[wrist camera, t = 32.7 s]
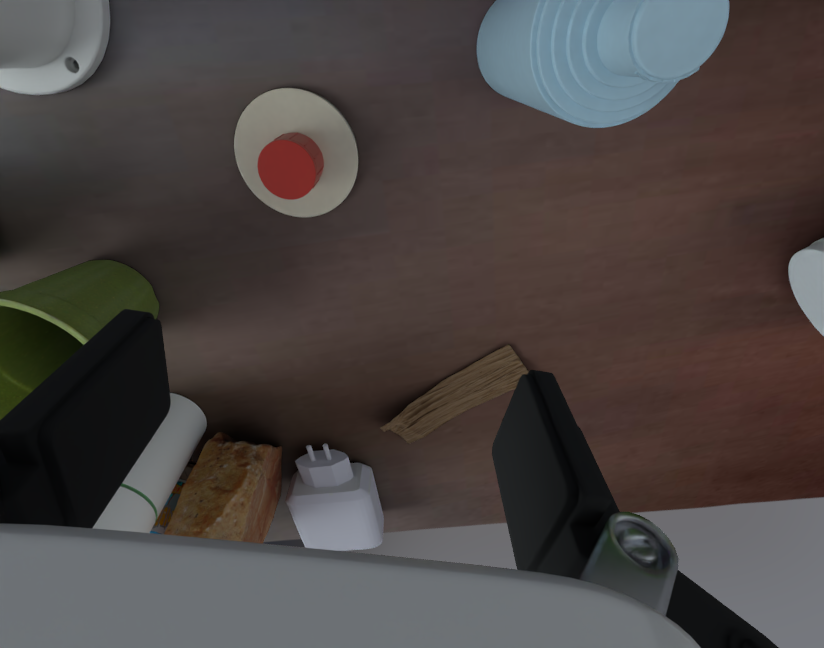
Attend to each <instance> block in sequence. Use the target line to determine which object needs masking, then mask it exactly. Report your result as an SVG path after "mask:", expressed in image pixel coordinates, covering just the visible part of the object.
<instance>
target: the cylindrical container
mask: <svg viewBox="0 0 824 648" xmlns="http://www.w3.org/2000/svg"><path fill="white" fill-rule="evenodd" d="M170 399H171V404H170V409H169V412H168V414H167V416H166V418H165V419H164V421H163V422H162V424H161V425H160V427H159V428H158V430H157V431H156V433H155V434H154V436H153V437H152V439H151V440H150V442H149V443H148V445H147V446H146V448H145V449H144V451H143V452H142V454H141V455H140V457H139V458H138V460H137V461H136V463H135V464H134V466H133V467H132V469H131V470H130V472H129V473H128V475H127V477H126V478H125V480H124V481H123V483H122V484H121V486H120V487H119V489H118V490H117V492H116V493H115V495H114V496H113V498H112V499H111V501H110V502H109V504H108V505H107V507H106V508H105V510H104V511H103V513H102V514H101V516H100V517H99V519H98V520H97V522H96V523H95V525H94V526H93V529H106V530H120V531H131V532H142V533H150V531H151V529H152V527H153V525H154V524H155V522H156V520H157V518H158V516H159V514H160V513H161V511H162V509H163V507H164V505H165V504H166V502H167V500H168V498H169V496H170V494H171V493H172V491H173V489H174V487H175V485H176V483H177V482H178V480H179V478H180V476H181V474H182V472H183V471H184V469H185V467H186V465H187V463H188V462H189V460H190V458H191V456H192V454H193V452H194V451H195V449H196V447H197V445H198V443H199V441H200V440H201V438H202V436H203V434H204V432H205V430H206V427H207V420H206V417H205V415H204V413H203V411H202V410H201V409H200V408H199V407H198V406H197V405H196V404H195V403H194V402H192V401H191V400H189V399H187V398H185V397H183V396H181V395H178V394H174V393H170Z"/></svg>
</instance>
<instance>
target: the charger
mask: <svg viewBox="0 0 824 648" xmlns="http://www.w3.org/2000/svg"><path fill="white" fill-rule="evenodd" d="M322 446H323V449H324V450H321V451H313V450H312V447H311V445H307V446H306V448H307V451H308V454H305V455H303V456H301V457H299V458H298V459H297V460H296V461H295V463H296V465H297V468H298V471H297V472H296V473H295V474H294V475H293V476H292V479H291V483H290V486H289V490H288V493H287V497H286V503H287V506H288V508H289V510H290V513H291V515H292V517H293V520H294V522H295V525H296V527H297V529H298V532H299V534H300V536H301V539H302V541H303V543H304V546H305V548H314V549H324V550H334V551H347V550H360V549H370V548H374V547H377V546H379V545H380V544H381V543H382V541H383V525H384V516H383V512H382V508H381V504H380V500H379V496H378V492H377V488H376V483H375V479H374V475H373V471H372V468H371V467H370V466H367V465H364V464H361V463H350V462H349V458H348V456H347V455H346V454H345V453H343V452H340V451H337V450H334V449H332V450H329V448H328V445H327V444H326V443H325V444H323V445H322Z"/></svg>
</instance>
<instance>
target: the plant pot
mask: <svg viewBox="0 0 824 648" xmlns="http://www.w3.org/2000/svg"><path fill="white" fill-rule="evenodd" d="M124 309H130V310H137V311H143V312H150V313H152V314H153V316H154V319H156V318H157V316H158V312H159V302H158V300H157V299H156V296H155V294H154V291H153V288H152V286H151V284H150V283H149V282H148V281H147V280H146V279H145V278H144V277H143V276H142V275H141V274H140V273H138V272H137V271H135V270H134V269H132V268H130V267H129V266H127V265H124V264H122V263H119V262H116V261H112V260H92V261H87V262H85V263H82V264H79V265H77V266H74V267H71V268H69V269H66V270H64V271H61V272H59V273H56V274H53V275H51V276H48V277H46V278H43V279H40V280H37V281H35V282H32V283H29V284H27V285H24V286H22V287H19V288H17V289H14V290H9V291H3V292H0V420H1V419H2V418H3V417H4V416H5V415H6V414H8V413H9V412H10V411H11V410H12V409H13V408H14V407H15V406H16V405H18V404H19V403H20V402H21V401H22V400H23V399H24V398H25V397H26V396H28V395H29V394H30V393H31V392H32V391H33V390H34V389H35V388H36V387H38V386H39V385H40V384H41V383H42V382H43V381H44V380H45V379H46V378H48V377H49V376H50V375H51V374H52V373H53V372H54V371H55V370H56V369H58V368H59V367H60V366H61V365H62V364H63V363H64V362H65V361H66V360H68V359H69V358H70V357H71V356H72V355H73V354H74V353H75V352H76V351H78V350H79V349H80V348H81V347H82V346H83V345H84V344H85V343H86V342H88V341H89V340H90V339H91V338H92V337H93V336H94V335H95V334H96V333H98V332H99V331H100V330H101V329H102V328H103V327H104V326H105V325H106V324H108V323H109V322H110V321H111V320H112V319H113V318H114V317H115V316H116V315H118V314H119V313H120V312H121V311H122V310H124Z"/></svg>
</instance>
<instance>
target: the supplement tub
mask: <svg viewBox="0 0 824 648" xmlns="http://www.w3.org/2000/svg"><path fill="white" fill-rule="evenodd" d="M788 275H789V281H790V285H791V288H792V291H793V293H794V296H795V298H796V300H797V302H798V304H799V305H800V307H801V309H802V310H803V312H804V313H805V315H806V316H807V317H808V319H809V320H810V321H811V323H812V324H813V325H814V326H815V328H816V329H817V330H818V331H819V332H820V333H821V334H822V335H823V336H824V238H822V239H819V240H817V241H815V242H814V243H812V244H811V245H810V246H809V247H807V248H804V249H802V250H800V251H798V252H797V253H795V254H794V255H793V257H792V258H791V260H790V262H789V267H788Z"/></svg>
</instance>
